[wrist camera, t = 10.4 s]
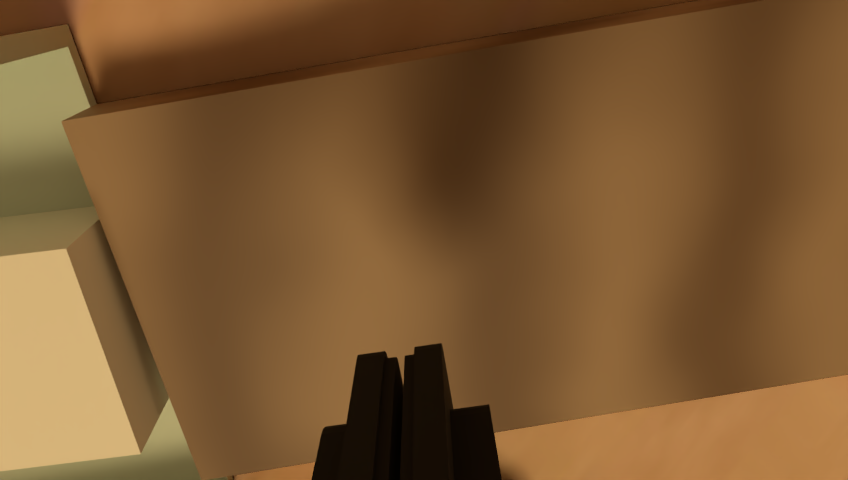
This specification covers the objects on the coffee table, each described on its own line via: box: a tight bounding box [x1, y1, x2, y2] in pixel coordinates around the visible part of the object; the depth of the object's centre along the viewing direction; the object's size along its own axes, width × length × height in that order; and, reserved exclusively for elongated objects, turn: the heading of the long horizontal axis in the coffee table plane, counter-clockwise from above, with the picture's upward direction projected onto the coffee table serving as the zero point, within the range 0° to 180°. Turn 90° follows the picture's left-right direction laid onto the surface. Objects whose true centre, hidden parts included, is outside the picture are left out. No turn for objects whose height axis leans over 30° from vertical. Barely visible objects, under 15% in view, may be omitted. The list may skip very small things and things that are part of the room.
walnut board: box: [61, 0, 848, 480], centre depth 18 cm, size 20×11×2 cm, turn 99°
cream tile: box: [0, 206, 169, 471], centre depth 17 cm, size 6×6×3 cm
